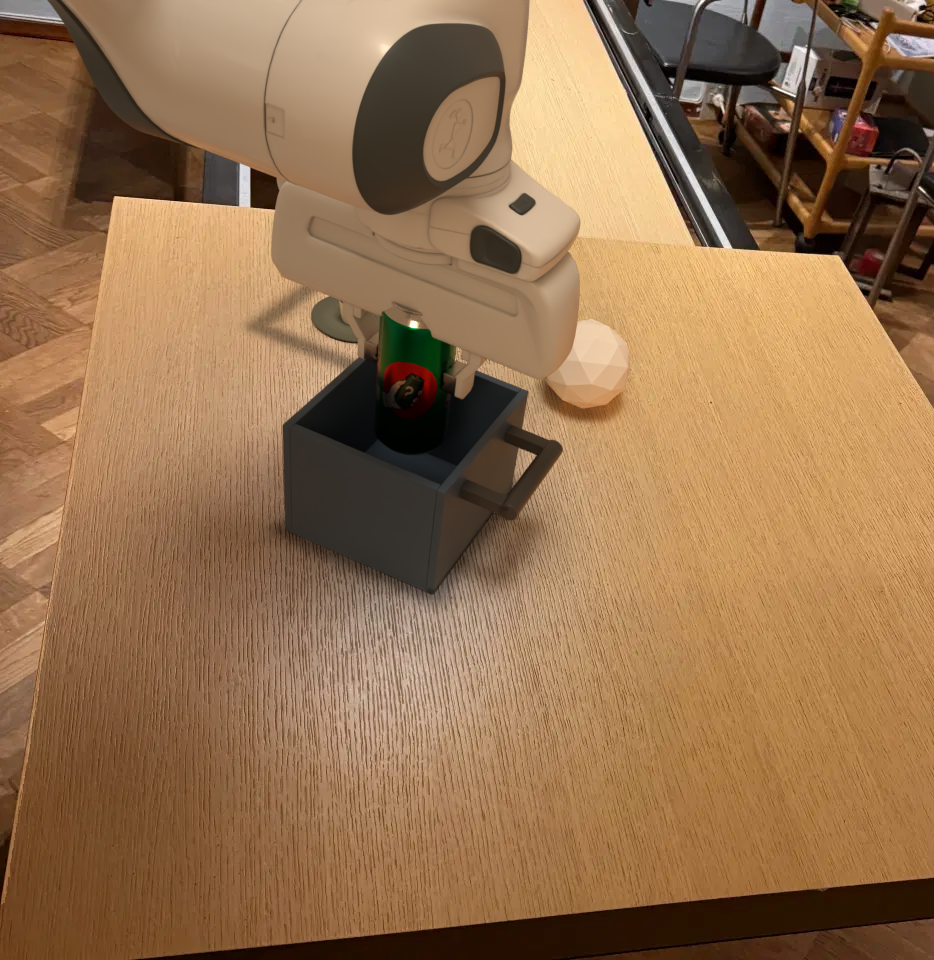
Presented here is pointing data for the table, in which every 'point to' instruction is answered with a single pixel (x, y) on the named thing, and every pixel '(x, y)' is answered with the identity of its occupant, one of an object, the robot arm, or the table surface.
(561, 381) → the geometric ball
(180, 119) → the robot arm
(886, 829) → the table surface
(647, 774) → the table surface
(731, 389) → the table surface
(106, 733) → the table surface
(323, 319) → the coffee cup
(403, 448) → the soda can
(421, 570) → the handled storage box
